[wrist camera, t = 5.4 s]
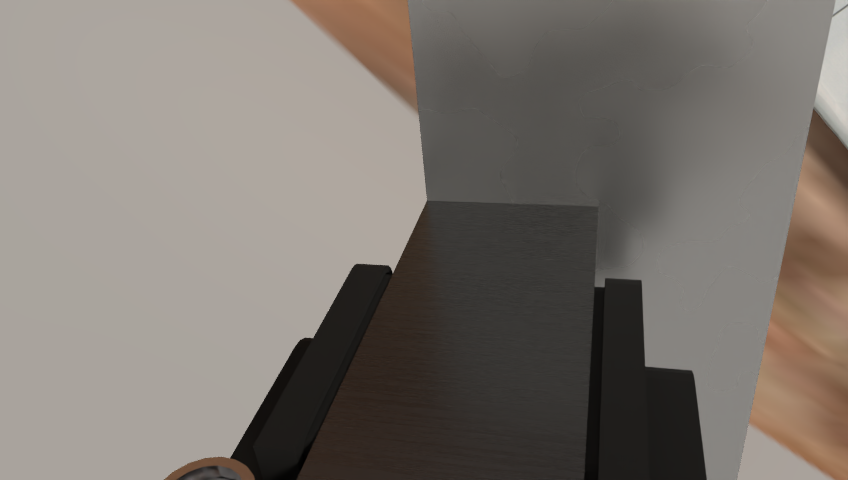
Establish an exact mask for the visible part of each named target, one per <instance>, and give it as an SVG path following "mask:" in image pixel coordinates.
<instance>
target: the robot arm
mask: <svg viewBox="0 0 848 480" xmlns="http://www.w3.org/2000/svg"><path fill="white" fill-rule="evenodd" d="M392 275H393V273H392V270H391V268H390V267H389V266H385V265H367V264H356V265H354V267H353V268H352V270H351V271H350V273H349V275H348V277H347V279H346V280H345V282H344V284H343V286H342V288H341V289H340V291H339V293H338V295H337V297H336V298H335V300H334V302H333V304H332V305H331V307H330V309H329V311H328V313H327V314H326V316H325V318H324V320H323V322H322V323H321V325H320V327H319V329H318V331H317V332H316V334H315V336H314V338H304V339H302V340H300V341H299V342H298V344H297V345H296V346H295V348H294V349H293V351H292V353H291V355H290V356H289V358H288V360H287V361H286V363H285V365H284V367H283V369H282V370H281V372H280V374H279V375H278V377H277V379H276V381H275V382H274V384H273V386H272V387H271V389H270V391H269V392H268V394H267V396H266V398H265V399H264V401H263V403H262V404H261V406H260V408H259V410H258V411H257V413H256V415H255V416H254V418H253V420H252V422H251V423H250V425H249V427H248V428H247V430H246V432H245V434H244V436H243V437H242V439H241V440H240V442H239V444H238V446H237V447H236V449H235V451H234V452H233V454H232V456H231V458H230V459H229V458H225V457H213V458H204V459H201V460H198V461H194V462H191V463H188V464H187V465H185V466H183V467H181V468H180V469H178V470H176V471H174V472H172V473H171V474H170V475H169V476H168V477H167V478H166V479H164V480H297V478H298V476H299V473H300V471H301V469H302V467H303V465H304V463H305V461H306V458H307V456H308V454H309V452H310V450H311V448H312V446H313V443H314V441H315V439H316V437H317V435H318V433H319V431H320V429H321V426H322V424H323V422H324V420H325V418H326V416H327V414H328V411H329V409H330V407H331V405H332V403H333V401H334V399H335V397H336V394H337V392H338V390H339V388H340V386H341V384H342V382H343V379H344V377H345V375H346V373H347V371H348V369H349V367H350V364H351V362H352V360H353V358H354V356H355V354H356V352H357V350H358V347H359V345H360V343H361V341H362V339H363V337H364V335H365V332H366V330H367V328H368V326H369V324H370V322H371V320H372V317H373V315H374V313H375V311H376V309H377V307H378V305H379V303H380V300H381V298H382V296H383V294H384V292H385V290H386V288H387V285H388V283H389V281H390V279H391V277H392ZM584 480H707V476H706V468H705V460H704V452H703V443H702V435H701V427H700V419H699V411H698V403H697V395H696V386H695V379H694V374H693V372H692V370H681V369H669V368H657V367H645V349H644V324H643V299H642V281H641V280H632V279H615V278H605V287H594V304H593V323H592V342H591V361H590V379H589V398H588V417H587V436H586V454H585V473H584Z"/></svg>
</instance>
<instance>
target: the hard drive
mask: <svg viewBox="0 0 848 480" xmlns="http://www.w3.org/2000/svg"><path fill="white" fill-rule="evenodd" d="M813 109H814V110H815V111H816V112H817V113H818V115H819V116H820V117H821V118H822V119H823V121H824V122H825V123H826V124H827V125H828V127H829V128H830V129H831V130H832V131H833V132H834V134H835V135H836V136H837V137H838V138H839V140H840V141H841V142H842V143H843V145H844V146H845V147H846V148H847V149H848V0H836V1H835V6H834V11H833V16H832V21H831V26H830V31H829V35H828V40H827V45H826V50H825V55H824V60H823V64H822V69H821V74H820V79H819V84H818V89H817V94H816V98H815V103H814V108H813Z"/></svg>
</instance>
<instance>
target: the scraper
mask: <svg viewBox="0 0 848 480" xmlns="http://www.w3.org/2000/svg"><path fill="white" fill-rule="evenodd" d="M835 1H836V0H408V7H409V18H410V28H411V39H412V49H413V59H414V70H415V80H416V90H417V101H418V111H419V121H420V132H421V141H422V151H423V163H424V172H425V183H426V194H427V202H426V204H425V207H424V209H423V211H422V213H421V215H420V217H419V219H418V221H417V224H416V226H415V228H414V230H413V233H412V234H411V236H410V238H409V241H408V243H407V245H406V247H405V249H404V251H403V253H402V256H401V258H400V260H399V262H398V264H397V266H396V268H395V271H394V273H393V275H392V277H391V279H390V281H389V283H388V285H387V288H386V290H385V292H384V294H383V296H382V298H381V300H380V303H379V305H378V307H377V309H376V311H375V313H374V315H373V317H372V320H371V322H370V324H369V326H368V328H367V330H366V332H365V335H364V337H363V339H362V341H361V343H360V345H359V347H358V350H357V352H356V354H355V356H354V358H353V360H352V362H351V364H350V367H349V369H348V371H347V373H346V375H345V377H344V379H343V382H342V384H341V386H340V388H339V390H338V392H337V394H336V397H335V399H334V401H333V403H332V405H331V407H330V409H329V411H328V414H327V416H326V418H325V420H324V422H323V424H322V426H321V429H320V431H319V433H318V435H317V437H316V439H315V441H314V443H313V446H312V448H311V450H310V452H309V454H308V456H307V458H306V461H305V463H304V465H303V467H302V469H301V471H300V473H299V476H298V478H297V480H584V473H585V454H586V436H587V417H588V398H589V379H590V361H591V342H592V323H593V304H594V287H605V278H615V279H632V280H641V281H642V299H643V324H644V349H645V367H657V368H669V369H681V370H692V372H693V374H694V379H695V386H696V395H697V403H698V411H699V419H700V427H701V435H702V443H703V452H704V460H705V468H706V476H707V480H737V476H738V471H739V467H740V461H741V457H742V452H743V447H744V442H745V437H746V433H747V428H748V423H749V418H750V413H751V409H752V404H753V399H754V394H755V389H756V384H757V379H758V375H759V370H760V365H761V360H762V355H763V350H764V346H765V341H766V336H767V331H768V326H769V321H770V316H771V312H772V307H773V302H774V297H775V292H776V287H777V283H778V278H779V273H780V268H781V263H782V258H783V253H784V249H785V244H786V239H787V234H788V229H789V224H790V220H791V215H792V210H793V205H794V200H795V195H796V190H797V186H798V181H799V176H800V171H801V166H802V161H803V157H804V152H805V147H806V142H807V137H808V132H809V127H810V123H811V118H812V113H813V108H814V103H815V98H816V94H817V89H818V84H819V79H820V74H821V69H822V64H823V60H824V55H825V50H826V45H827V40H828V35H829V31H830V26H831V21H832V16H833V11H834V6H835Z"/></svg>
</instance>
